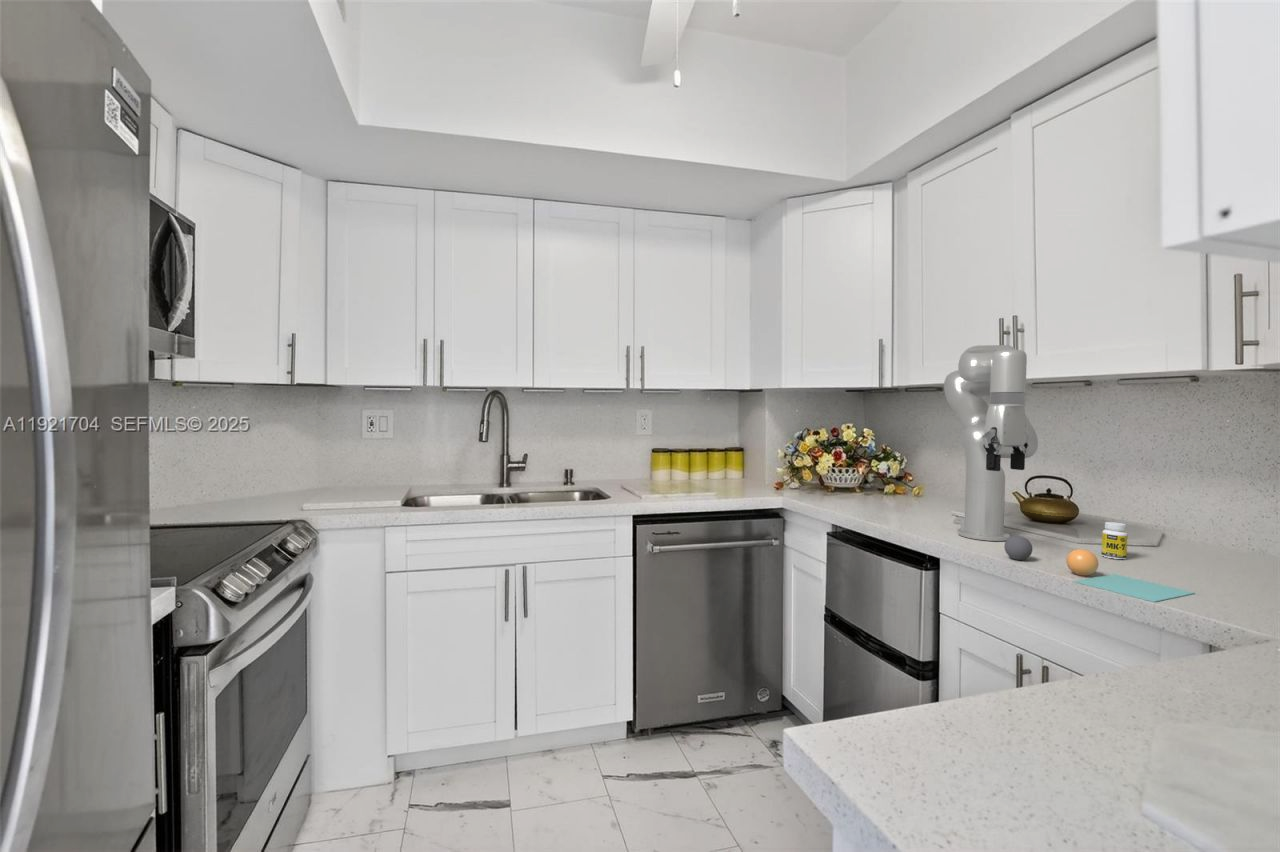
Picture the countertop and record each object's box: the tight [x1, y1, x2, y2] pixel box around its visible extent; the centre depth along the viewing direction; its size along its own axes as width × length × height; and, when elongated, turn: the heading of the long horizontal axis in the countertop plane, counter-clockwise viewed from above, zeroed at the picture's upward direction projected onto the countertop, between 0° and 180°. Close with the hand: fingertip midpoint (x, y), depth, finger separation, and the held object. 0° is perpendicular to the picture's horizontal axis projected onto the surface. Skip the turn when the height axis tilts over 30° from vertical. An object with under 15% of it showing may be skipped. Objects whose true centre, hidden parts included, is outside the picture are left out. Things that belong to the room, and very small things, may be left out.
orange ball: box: [1065, 548, 1100, 577], centre depth 129 cm, size 6×6×6 cm
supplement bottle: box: [1100, 521, 1129, 560], centre depth 145 cm, size 5×5×8 cm
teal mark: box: [1073, 573, 1196, 603], centre depth 120 cm, size 14×14×1 cm
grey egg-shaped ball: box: [1003, 535, 1033, 561], centre depth 142 cm, size 6×6×6 cm
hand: (1005, 470), depth 148 cm, fingers open, 9 cm apart
